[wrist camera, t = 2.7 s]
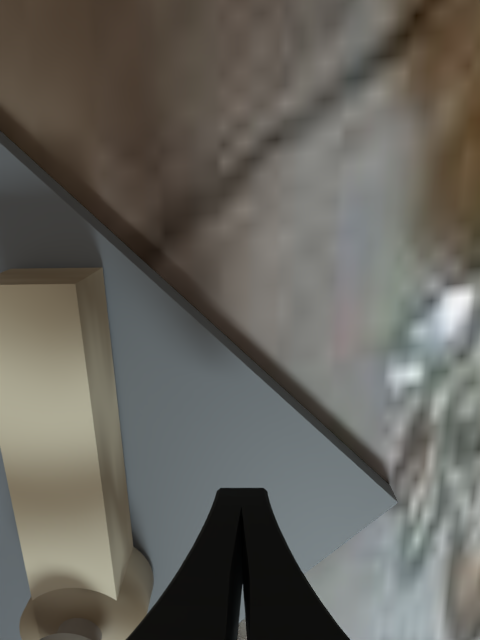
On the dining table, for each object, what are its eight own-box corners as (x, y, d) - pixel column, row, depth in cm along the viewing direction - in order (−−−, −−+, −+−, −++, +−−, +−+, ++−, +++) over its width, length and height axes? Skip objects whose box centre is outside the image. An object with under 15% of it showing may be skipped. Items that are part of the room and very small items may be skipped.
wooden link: (157, 616, 19) (135, 727, 15) (55, 617, 19) (7, 727, 15) (124, 267, 14) (79, 298, 10) (-10, 268, 14) (-103, 300, 11)
